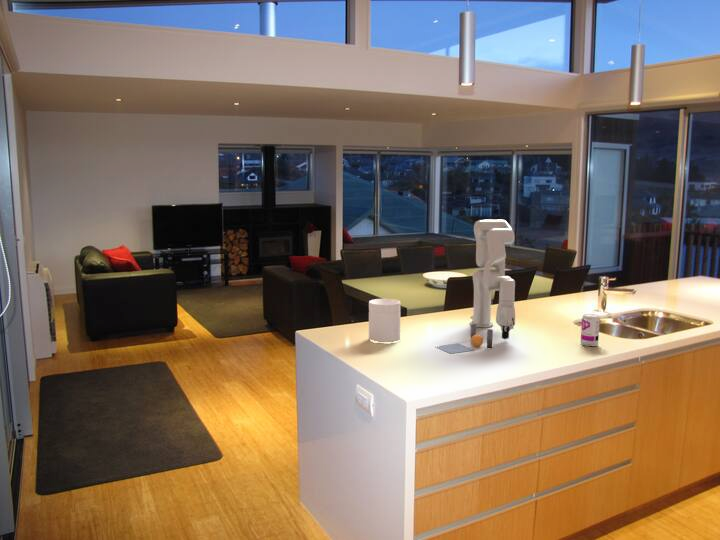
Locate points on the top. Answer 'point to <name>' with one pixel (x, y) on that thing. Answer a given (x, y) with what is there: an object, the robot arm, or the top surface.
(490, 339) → the post
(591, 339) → the supplement can
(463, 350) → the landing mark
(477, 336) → the ball
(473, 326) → the post
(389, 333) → the canister
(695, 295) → the top surface
